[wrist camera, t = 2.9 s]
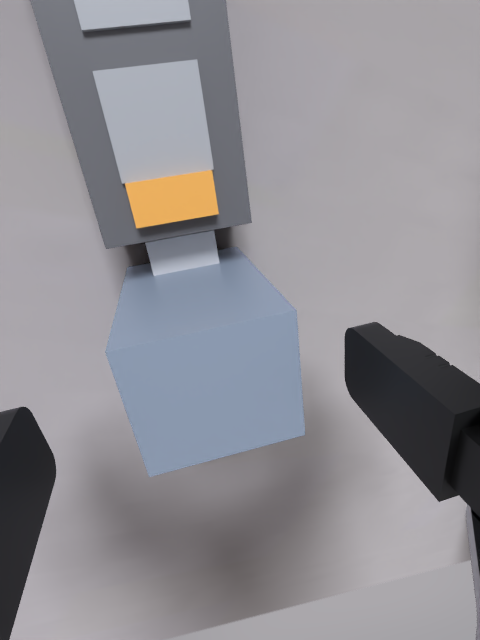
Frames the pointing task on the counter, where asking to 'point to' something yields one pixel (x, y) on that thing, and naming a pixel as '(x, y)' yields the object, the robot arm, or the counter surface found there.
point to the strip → (150, 113)
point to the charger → (204, 355)
